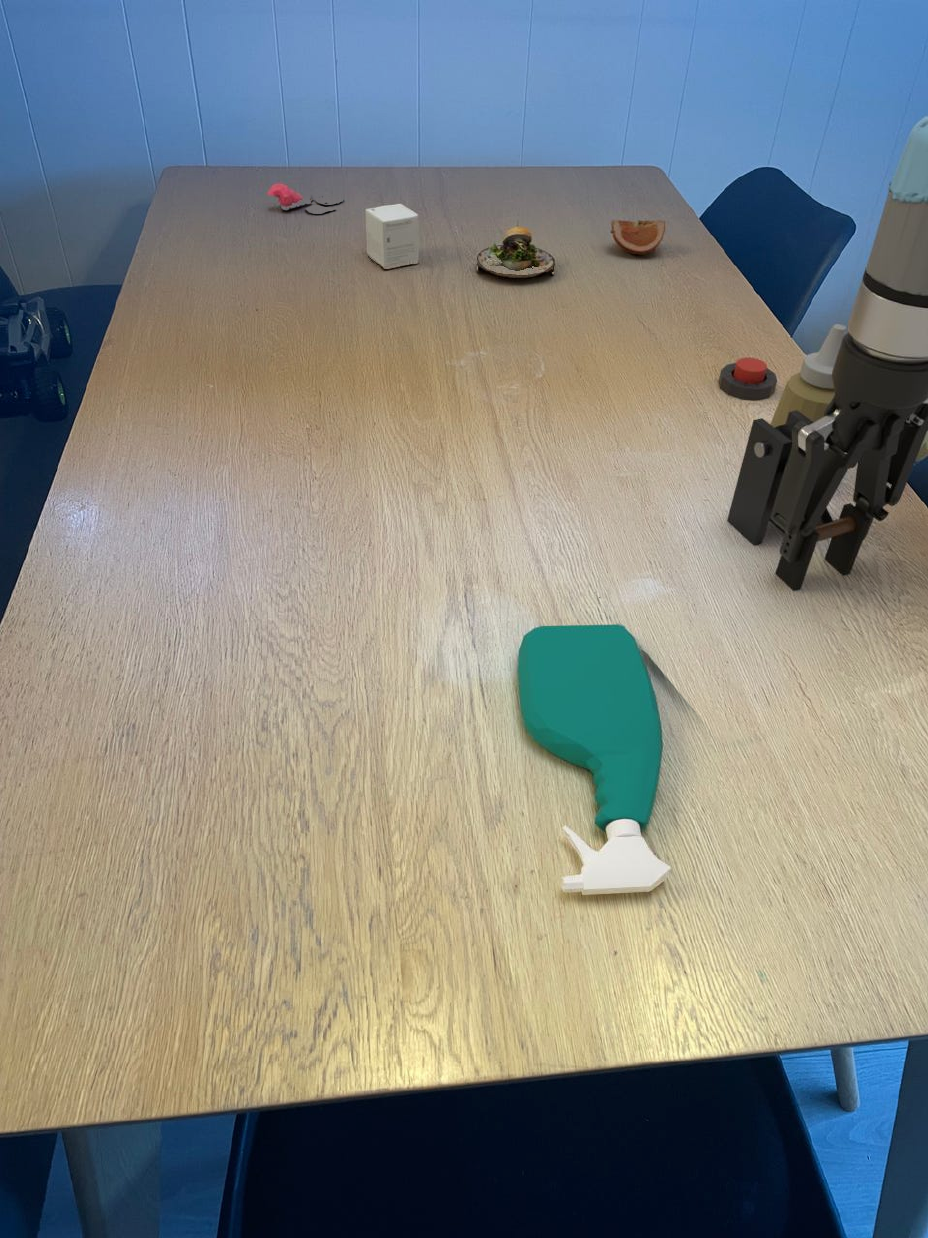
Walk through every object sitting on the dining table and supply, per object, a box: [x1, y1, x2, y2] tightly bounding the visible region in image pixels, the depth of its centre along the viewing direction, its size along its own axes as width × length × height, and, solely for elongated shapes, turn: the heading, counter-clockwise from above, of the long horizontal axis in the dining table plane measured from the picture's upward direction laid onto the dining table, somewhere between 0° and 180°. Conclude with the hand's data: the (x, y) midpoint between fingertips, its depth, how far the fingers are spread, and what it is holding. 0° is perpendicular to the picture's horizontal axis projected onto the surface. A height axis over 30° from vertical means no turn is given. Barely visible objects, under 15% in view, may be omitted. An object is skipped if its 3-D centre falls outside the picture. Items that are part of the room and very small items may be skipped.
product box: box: [365, 203, 420, 266], centre depth 141 cm, size 6×6×7 cm
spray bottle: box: [517, 624, 672, 896], centre depth 71 cm, size 3×11×24 cm
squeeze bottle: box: [769, 323, 847, 428], centre depth 94 cm, size 8×8×18 cm
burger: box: [476, 213, 556, 279], centre depth 139 cm, size 12×12×8 cm
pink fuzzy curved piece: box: [266, 182, 303, 207], centre depth 159 cm, size 12×11×4 cm
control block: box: [718, 362, 778, 402], centre depth 112 cm, size 10×7×3 cm
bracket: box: [726, 410, 814, 547], centre depth 89 cm, size 9×7×13 cm
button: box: [733, 357, 768, 384], centre depth 112 cm, size 4×4×2 cm
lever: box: [775, 422, 856, 543], centre depth 85 cm, size 11×5×2 cm, turn 24°
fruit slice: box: [610, 219, 666, 256], centre depth 146 cm, size 8×7×5 cm
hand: (812, 575), depth 87 cm, fingers closed on lever, 5 cm apart
